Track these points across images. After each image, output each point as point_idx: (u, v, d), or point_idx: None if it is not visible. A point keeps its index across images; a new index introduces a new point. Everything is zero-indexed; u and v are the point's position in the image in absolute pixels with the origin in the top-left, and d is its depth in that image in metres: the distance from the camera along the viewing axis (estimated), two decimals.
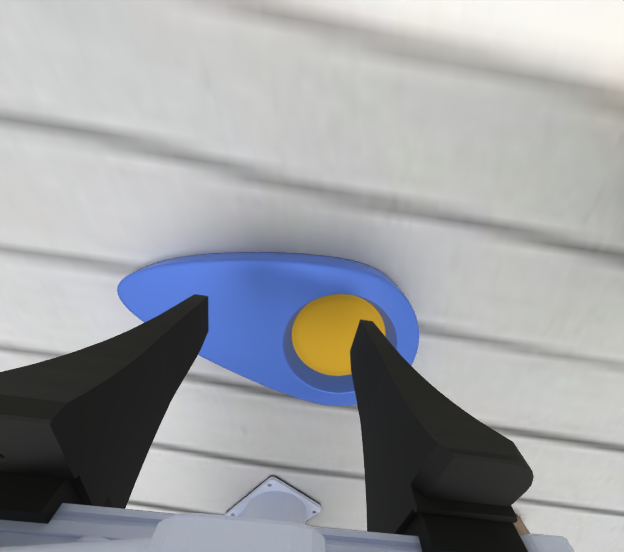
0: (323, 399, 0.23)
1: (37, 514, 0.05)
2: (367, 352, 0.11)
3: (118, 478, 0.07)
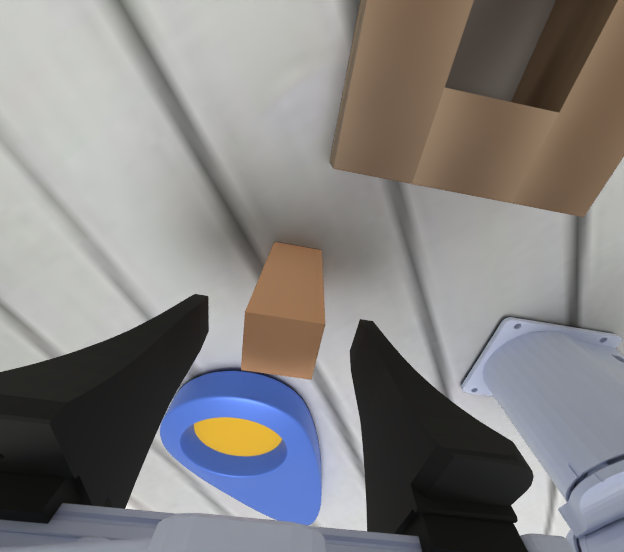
0: (294, 434, 0.22)
1: (37, 514, 0.05)
2: (367, 352, 0.11)
3: (118, 478, 0.07)
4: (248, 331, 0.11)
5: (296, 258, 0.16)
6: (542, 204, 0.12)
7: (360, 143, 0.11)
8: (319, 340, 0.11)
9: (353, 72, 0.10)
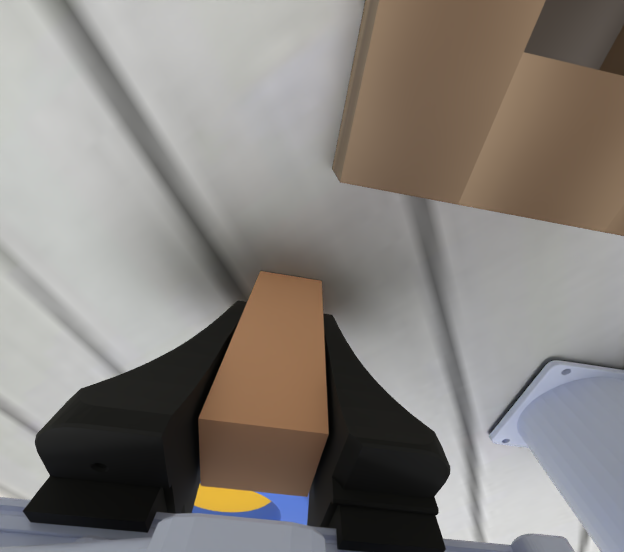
0: (289, 498, 0.18)
1: (141, 524, 0.05)
2: None
3: (190, 485, 0.07)
4: (206, 442, 0.07)
5: (288, 298, 0.12)
6: None
7: (383, 143, 0.07)
8: (318, 453, 0.07)
9: (375, 26, 0.06)
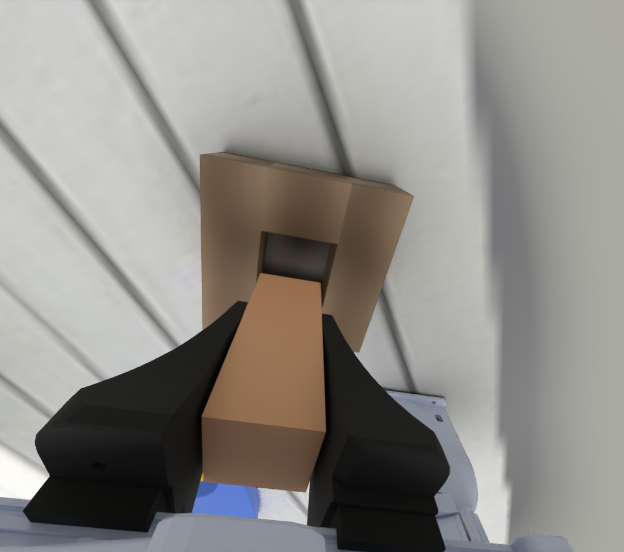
0: None
1: (140, 524, 0.05)
2: None
3: (190, 486, 0.07)
4: (209, 439, 0.07)
5: (287, 300, 0.12)
6: None
7: (215, 318, 0.19)
8: (316, 450, 0.07)
9: (202, 290, 0.18)
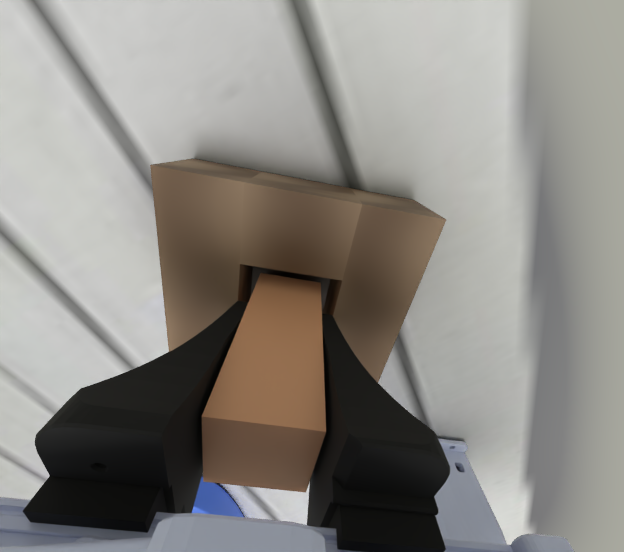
0: None
1: (141, 523, 0.05)
2: None
3: (190, 485, 0.07)
4: (209, 439, 0.07)
5: (287, 300, 0.12)
6: None
7: None
8: (317, 450, 0.07)
9: (168, 335, 0.14)
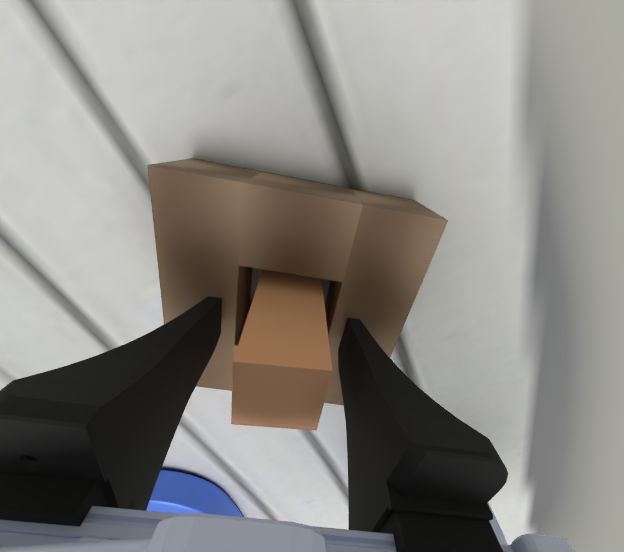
0: None
1: (70, 517, 0.05)
2: (352, 351, 0.11)
3: (141, 480, 0.07)
4: (238, 382, 0.09)
5: (292, 279, 0.14)
6: (334, 401, 0.16)
7: None
8: (325, 389, 0.09)
9: None
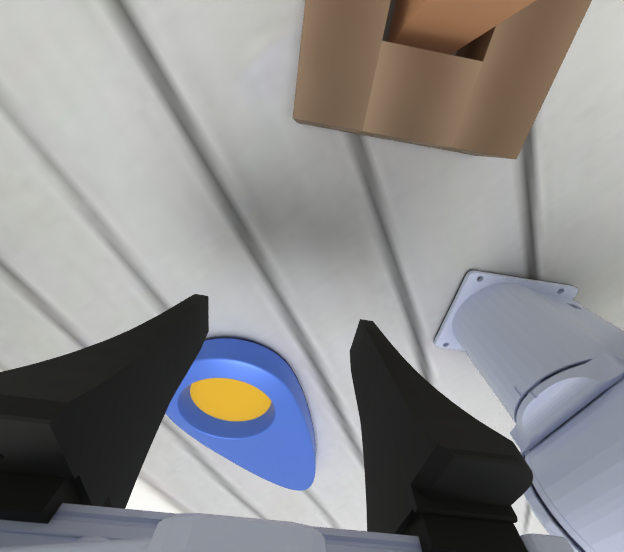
0: (279, 392, 0.24)
1: (37, 514, 0.05)
2: (367, 352, 0.11)
3: (118, 478, 0.07)
4: None
5: None
6: (478, 147, 0.14)
7: (314, 94, 0.13)
8: None
9: (303, 29, 0.12)
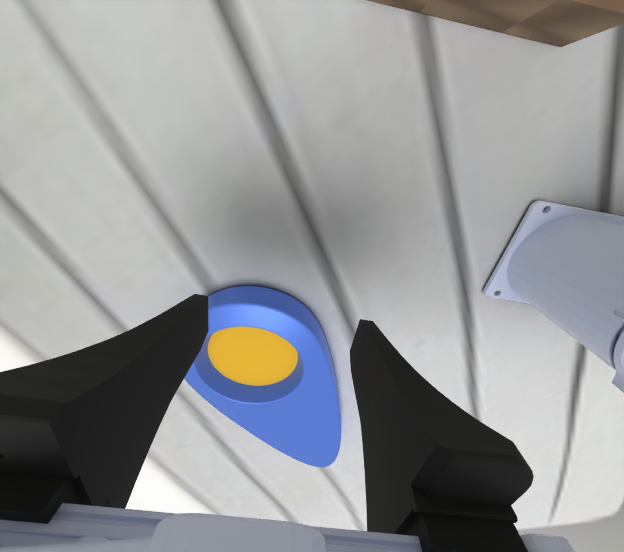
0: (309, 346, 0.22)
1: (37, 514, 0.05)
2: (367, 352, 0.11)
3: (118, 478, 0.07)
4: None
5: None
6: None
7: None
8: None
9: None
